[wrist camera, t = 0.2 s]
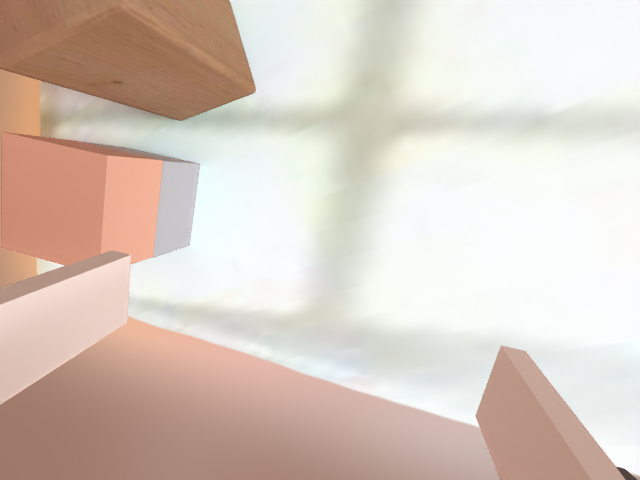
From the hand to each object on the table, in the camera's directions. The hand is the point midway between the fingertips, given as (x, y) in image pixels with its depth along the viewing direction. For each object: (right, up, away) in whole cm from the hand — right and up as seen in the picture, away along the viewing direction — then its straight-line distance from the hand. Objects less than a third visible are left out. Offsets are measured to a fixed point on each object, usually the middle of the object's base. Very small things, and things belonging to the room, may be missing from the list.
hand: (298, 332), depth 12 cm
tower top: (-20, +7, +24) cm, 32 cm away
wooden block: (-12, +23, +27) cm, 37 cm away
